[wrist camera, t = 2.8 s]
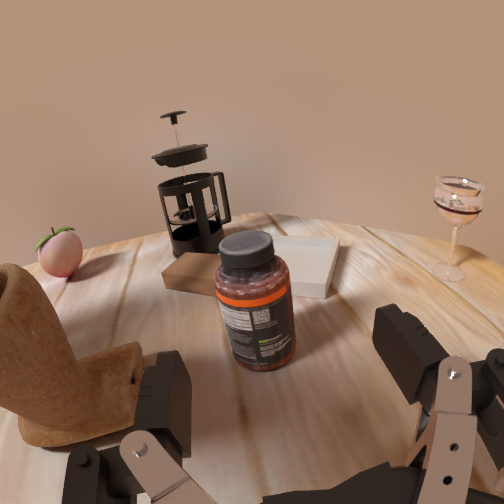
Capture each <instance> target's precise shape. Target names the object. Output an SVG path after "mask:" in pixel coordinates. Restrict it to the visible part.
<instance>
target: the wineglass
mask: <svg viewBox="0 0 504 504" xmlns="http://www.w3.org/2000/svg"><path fill="white" fill-rule="evenodd" d="M435 179H436V182H437V185H438V186H437V188H436V189H435V192H434V202H435V206H436V209H437V210H438V211H439V213H440V214H441V216H442V217H443V218H444V219H445V220H447V221H449V222H450V224H451V226H452V227H453V233H452V242H451V250H450V258H449V263H447V262H440V263H436V264H435V265H433V267H432V271H433V273H434V274H435V275H436V276H437V277H439V278H440V279H443V280H446V281H451V282H453V281H459V280H461V279H463V278H464V276H465V275H464V271H463V270H462V269H461V268H460V267H459V266H457V265H455V264H452V259H453V254H454V250H455V245H456V239H457V235H458V229H459V228H461V227H462V225H465V224H469V223H471V222H473V221H474V220H475V219H476V218H478V217H479V215H480V213H481V211H482V208H483V204H484V201H483V197H482V192H483V190H484V188H485V187H484V185H482V184H481V183H479V182H477V181H474V180H471V179H467V178H463V177H456V176H439V177H436V178H435Z"/></svg>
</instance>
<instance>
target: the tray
mask: <svg viewBox="0 0 504 504" xmlns="http://www.w3.org/2000/svg"><path fill="white" fill-rule="evenodd" d="M271 236H272V239H273V246H274V249H275V253H274V254H275V255H277V256H279V257H281V258H282V259H283V260H284V261H285V263H286V264H287V266H288V269H289V273H290V282H291V291H292V296H300V297H310V298H320V299H326V295H327V292H328V289H329V286H330V282H331V279H332V276H333V272H334V269H335V265H336V262H337V258H338V255H339V251H340V238H323V237H301V236H278V235H271Z"/></svg>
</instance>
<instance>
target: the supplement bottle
mask: <svg viewBox="0 0 504 504" xmlns="http://www.w3.org/2000/svg"><path fill="white" fill-rule="evenodd" d="M219 253H220V257H221V262H222V263H221V265H220V266H219V267H218V269H217V270H216V272H215V276H214V286H215V290H216V294H217V298H218V302H219V306H220V310H221V313H222V317H223V321H224V324H225V328H226V332H227V335H228V339H229V343H230V346H231V350H232V352H233V355H234V358H235V360H236V361H237V362H238V363H239V364H240V365H242V366H243V367H245V368H247V369H250V370H254V371H266V370H271V369H275V368H277V367H279V366H281V365H283V364H285V363H286V362H287V361H288V360H289V359H290V358H291V356H292V355H293V353H294V350H295V346H296V339H295V326H294V314H293V303H292V291H291V282H290V273H289V269H288V266H287V264H286V263H285V261H284V260H283V259H282V258H281V257H279V256H277V255H275V254H274V253H275V249H274V246H273V239H272V236H271V235H270V234H268V233H266V232H263V231H258V230H248V231H241V232H237V233H234V234H231V235H229V236H227V237H226V238H224V239H223V240H222V241H221V242H220V244H219Z"/></svg>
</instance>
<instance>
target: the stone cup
mask: <svg viewBox="0 0 504 504" xmlns="http://www.w3.org/2000/svg"><path fill="white" fill-rule="evenodd" d="M143 374H144V372H143V358H142V348H141V346H140V344H139V342H137V341H135V342H132V343H129V344H126V345H123V346H120V347H117V348H114V349H110V350H107V351H104V352H100V353H97V354H94V355H91V356H88V357H85V358H82V359H79V360H77V359H76V358H75V356H74V354H73V352H72V350H71V347H70V345H69V343H68V340H67V338H66V335H65V332H64V330H63V328H62V325H61V323H60V321H59V318H58V316H57V314H56V312H55V309H54V308H53V306H52V304H51V302H50V300H49V299H48V297H47V295H46V294H45V292H44V290H43V289H42V287H41V285H40V284H39V283H38V281H37V280H36V279H35V278H34V277H33V276H32V275H31V274H30V273H29V272H28V271H27V270H25V269H23V268H21V267H19V266H18V265H15V264H8V263H7V264H3V265H0V406H1V407H3V408H5V409H7V410H9V411H12V412H14V413H16V414H18V426H19V430H20V433H21V435H22V438H23V440H24V441H25V442H26V443H27V444H30V445H32V446H36V447H57V446H64V445H68V444H72V443H77V442H81V441H86V440H89V439H93V438H96V437H99V436H103V435H106V434H109V433H112V432H116V431H119V430H122V429H125V428H128V427H130V426H132V425H133V423H134V417H135V411H136V405H137V400H138V398H139V397H138V394H139V389H140V384H141V378H142V376H143Z"/></svg>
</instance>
